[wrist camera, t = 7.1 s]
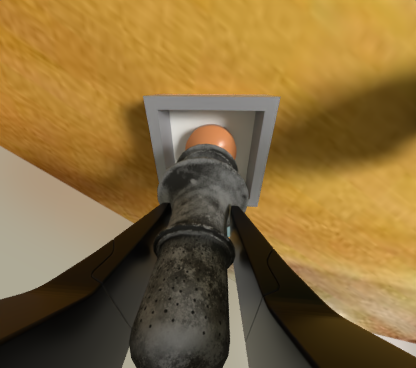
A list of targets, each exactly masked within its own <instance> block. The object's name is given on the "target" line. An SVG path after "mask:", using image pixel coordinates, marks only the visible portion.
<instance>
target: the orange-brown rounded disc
mask: <svg viewBox="0 0 416 368" xmlns="http://www.w3.org/2000/svg"><path fill="white" fill-rule="evenodd" d="M198 144H212V145H217V146H219V147H221V148H224V149H225V150H226V151H227V152H229V153H230V154H231V155H232V157H233V158H234V159H235V158H236V153H237V150H236V144H235V141H234V138H233V136H232V135H231V133H230V132H229V131H228V130H227V129H225V128H224V127H222V126H220V125H216V124H206V125H203V126H200V127H198V128H197V129H196V130H194V131H193V133H192V134H191V135H190V137H189V139H188V141H187V143H186V147H185V151H186V150H187V149H188V148H190V147H192V146H195V145H198Z"/></svg>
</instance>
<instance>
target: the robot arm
mask: <svg viewBox="0 0 416 368" xmlns="http://www.w3.org/2000/svg"><path fill="white" fill-rule="evenodd" d="M171 216H172V208H171V203H169V202H163V203H162V204H160V205H159V206H158V207H156V208H155V209H154V210H152V211H151V212H149V213H148V214H147V215H145V216H144V217H143V218H141V219H140V220H139V221H137V222H136V223H134V224H133V225H132V226H130V227H129V228H128V229H126V230H125V231H124V232H122V233H121V234H120V235H118V236H117V237H115V238H114V240H111V241H110V242H109V243H107V244H106V245H104V246H103V247H102V248H100V249H99V250H97V251H96V252H94V253H93V254H91V255H90V256H88V257H87V258H85V259H84V260H82V261H81V262H79V263H77V264H76V265H74V266H73V267H71V268H70V269H68V270H66V271H65V272H63V273H62V274H60V275H59V276H57V277H56V278H54V279H52V280H51V281H49V282H47V283H46V284H44V285H42V286H40V287H38V288H36V289H33V290H31V291H28V292H25V293H23V294H19V295H16V296H12V297H8V298H4V299H1V300H0V368H122V365H123V363H124V360H125V357H126V354H127V351H128V348H129V339H130V334H131V329H132V326H133V323H134V320H135V318H136V315H137V312H138V310H139V307H140V304H141V301H142V299H143V296H144V293H145V291H146V288H147V285H148V282H149V280H150V277H151V274H152V272H153V269H154V266H155V263H156V261H157V257H156V255H155V253H154V250H153V243H154V240H155V238H156V236H157V235H158V234H159V232H160V231H161V230H163V229H165V228H167V226H168V224H169V221H170V218H171ZM230 240H231V241H232V243H233V245H234V247H235V255H236V256H235V259H234V262H233V264H234V271H235V278H236V284H237V291H238V297H239V304H240V311H241V317H242V324H243V331H244V337H245V342H246V350H247V357H248V364H249V368H416V357H415V356H413V355H411V354H409V353H407V352H405V351H404V350H402V349H400V348H398V347H396V346H394V345H393V344H391V343H389V342H387V341H385V340H383V339H381V338H380V337H378V336H376V335H374V334H372V333H371V332H369V331H367V330H365V329H363V328H361V327H360V326H358V325H356V324H354V323H352V322H350V321H349V320H347V319H345V318H343V317H342V316H340V315H339V314H338V313H336V312H335V311H334V310H332V309H331V308H330V307H329V306H328V305H327V304H326V303H325V302H324V301H323V300H322V299H321V298H320V297H319V296H318V295H317V294H316V293H315V292H314V291H313V290H312V289H311V288H310V287H309V286H308V285H307V284H306V283H305V282H304V281H303V280H302V279H301V278H300V277H299V276H298V275H297V274H296V273H295V272H294V271H293V270H292V269H291V268H290V267H289V266H288V265H287V264H286V262H285V261H284V260H283V259H282V258H281V257H280V256H279V254H278V253H277V252H276V251H275V250H274V249H273V247H272V246H271V245H270V244H269V242H268V241H267V240H266V239H265V237H264V236H263V235H262V234H261V233H260V231H259V230H258V229H257V228H256V227H255V225H254V224H253V223H252V222H251V220H250V219H249V218H248V217H247V216H246V214H245V213H244V212H243V211H242V210H241V208H240V207H239V206H236V205H232V206H231V210H230Z"/></svg>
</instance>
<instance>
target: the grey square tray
mask: <svg viewBox="0 0 416 368" xmlns="http://www.w3.org/2000/svg"><path fill="white" fill-rule="evenodd" d="M143 98H144V104H145V109H146V115H147V120H148V126H149V131H150V136H151V142H152V147H153V153H154V158H155V164H156V169H157V175H158V180H159V182H160V179H161V177H162V176H163V175H164V173H165V172H166V170H167V169H169V168H170V167H171V166H173V165H174V164H175V163H177V160H178V158H179V157H180V156H181V154H182V153H183V152H184V151H185V147H186V143H187V141H188V139H189V137H190V135H191V134H192V133H193V131H194V130H196V129H197V128H198V127H200V126H203V125H206V124H216V125H220V126H222V127H224V128H225V129H227V130H228V131H229V132H230V133H231V135H232V136H233V138H234V141H235V144H236V150H237V153H236V158H235V161H236V164H237V167H238V173H239V174H240V176H241V177H242V178H243V180H244V181H245V184H246V186H247V189H248V205H247V206H252V207H257V205H258V201H259V196H260V191H261V186H262V182H263V177H264V172H265V167H266V163H267V158H268V153H269V149H270V144H271V139H272V134H273V130H274V125H275V120H276V115H277V111H278V106H279V101H280V97H277V96H271V95H228V94H157V95H148V96H143Z"/></svg>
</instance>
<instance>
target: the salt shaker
mask: <svg viewBox="0 0 416 368" xmlns="http://www.w3.org/2000/svg"><path fill="white" fill-rule="evenodd" d="M157 192H158V201H159V203H160V204H162V203H163V202H169V203H171V208H172V216H171V218H170V221H169V224H168V226H167V228H165V229H163V230H161V231H160V232H159V234H158V235H157V236H156V238H155V240H154V243H153V250H154V253H155V255H156V257H157V261H156V263H155V266H154V269H153V272H152V274H151V277H150V280H149V282H148V285H147V288H146V291H145V293H144V296H143V299H142V301H141V304H140V307H139V310H138V312H137V315H136V318H135V320H134V323H133V326H132V329H131V334H130V339H129V346H130V353H131V358H132V360H133V362H134V364H135V366H136V368H223V365H224V363H225V361H226V359H227V357H228V353H229V344H230V330H229V303H228V277H227V269H228V268H229V267H230V266H231V265H232V263H233V262H234V259H235V256H236V255H235V247H234V245H233V243H232V241H231V240H230V239H229V238H228V237H227V228H228V227H230V210H231V206H232V205H236V206H239V207H240V208H241V210H242V211H243V212H244V213H245V211H246V208H247V205H248V189H247V186H246V184H245V181H244V180H243V178H242V177H241V176H240V174H239V173H238V167H237V164H236V161H235V159H234V158H233V157H232V155H231V154H230V153H229V152H227V151H226V150H225V149H224V148H221V147H219V146H217V145H212V144H198V145H195V146H192V147H190V148H188V149H187V150H186V151H184V152H183V153H182V154H181V156H180V157H179V158H178V160H177V163H175V164H174V165H173V166H171V167H170V168H169V169H167V170H166V172H165V173H164V175H163V176H162V177H161V179H160V182H159V185H158V189H157Z"/></svg>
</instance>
